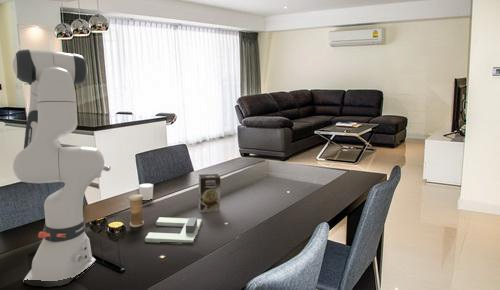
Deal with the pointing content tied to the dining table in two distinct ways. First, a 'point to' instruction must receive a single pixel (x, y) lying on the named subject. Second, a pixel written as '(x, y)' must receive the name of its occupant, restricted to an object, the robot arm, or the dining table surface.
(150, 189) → the shot glass
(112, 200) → the dining table surface
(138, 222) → the bobbin
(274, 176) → the dining table surface
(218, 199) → the coffee box
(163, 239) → the notched board
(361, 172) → the dining table surface
